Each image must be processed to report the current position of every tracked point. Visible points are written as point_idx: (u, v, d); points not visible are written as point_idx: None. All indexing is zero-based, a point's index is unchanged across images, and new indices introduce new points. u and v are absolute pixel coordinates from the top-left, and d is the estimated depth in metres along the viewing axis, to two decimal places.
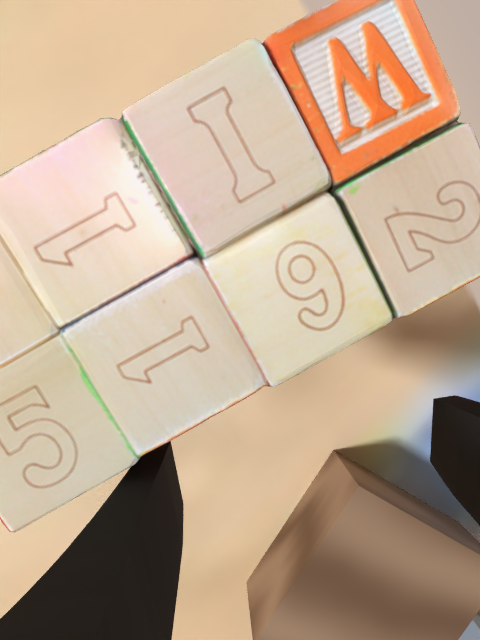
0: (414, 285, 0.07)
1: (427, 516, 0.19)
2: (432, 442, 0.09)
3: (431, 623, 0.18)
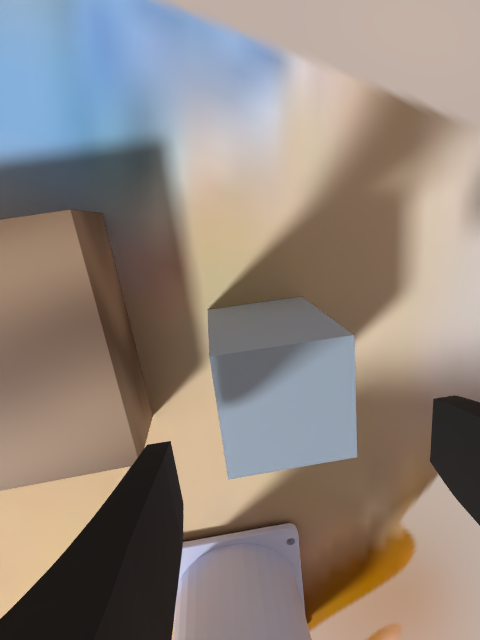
0: None
1: None
2: (432, 442, 0.09)
3: (50, 350, 0.12)
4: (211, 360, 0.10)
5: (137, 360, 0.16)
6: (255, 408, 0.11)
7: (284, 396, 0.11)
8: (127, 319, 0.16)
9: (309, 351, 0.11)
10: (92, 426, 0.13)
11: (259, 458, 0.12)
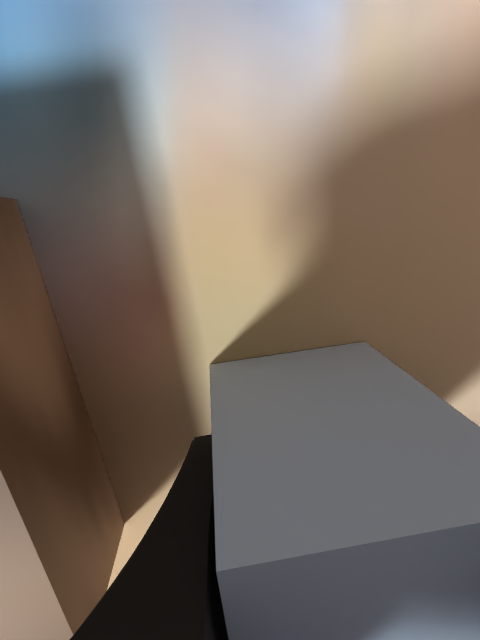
0: None
1: None
2: None
3: None
4: (221, 580, 0.04)
5: (93, 445, 0.10)
6: None
7: (395, 637, 0.05)
8: (72, 381, 0.09)
9: (469, 544, 0.04)
10: None
11: None
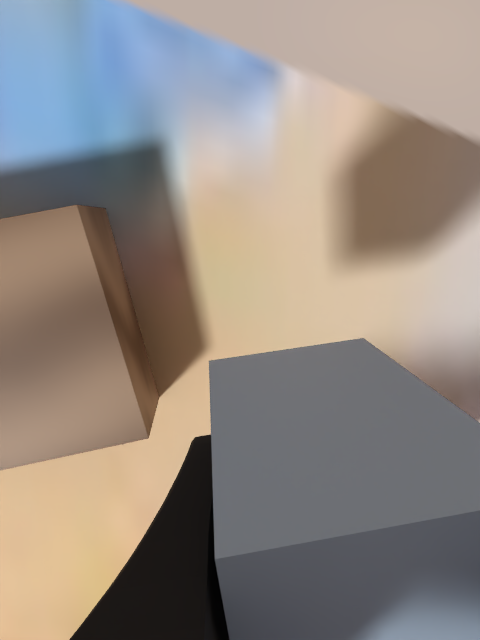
0: None
1: None
2: None
3: (64, 334, 0.13)
4: (220, 568, 0.04)
5: (143, 345, 0.17)
6: None
7: (392, 626, 0.05)
8: (132, 307, 0.17)
9: (464, 534, 0.04)
10: (104, 403, 0.14)
11: None
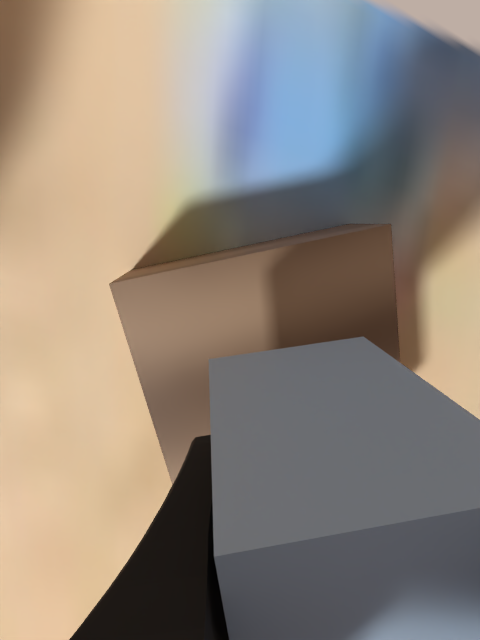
0: None
1: (260, 247, 0.13)
2: None
3: None
4: (219, 566, 0.04)
5: None
6: None
7: (392, 624, 0.05)
8: None
9: (465, 530, 0.04)
10: None
11: None
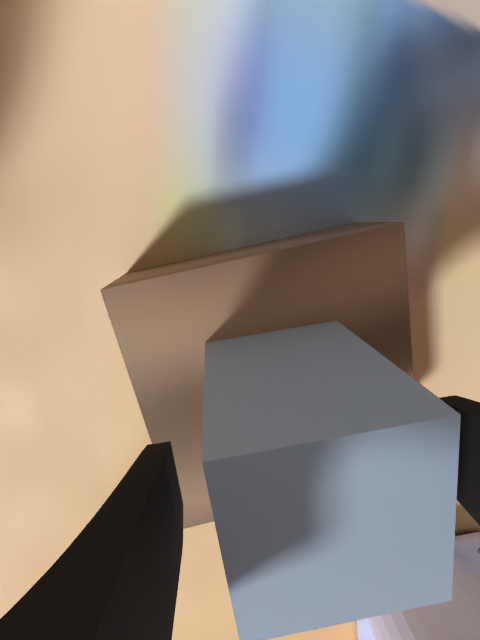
0: None
1: (263, 248, 0.12)
2: None
3: None
4: (205, 468, 0.06)
5: None
6: (285, 539, 0.06)
7: (334, 519, 0.06)
8: None
9: (380, 445, 0.06)
10: None
11: (291, 612, 0.07)
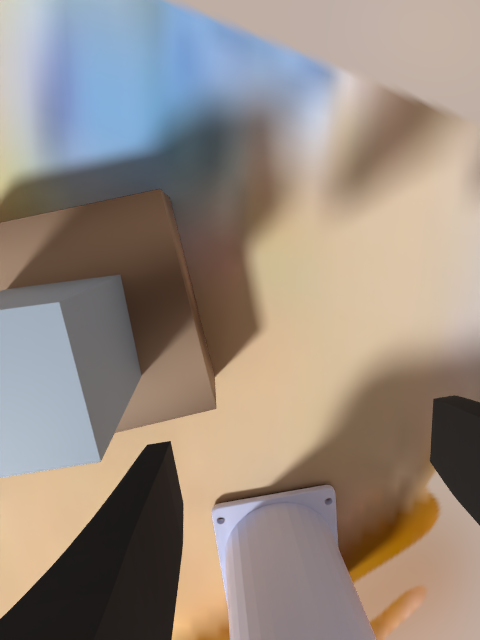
0: None
1: None
2: (432, 442, 0.09)
3: (143, 310, 0.15)
4: None
5: (201, 326, 0.18)
6: None
7: None
8: (192, 289, 0.18)
9: (1, 323, 0.08)
10: (177, 375, 0.15)
11: None
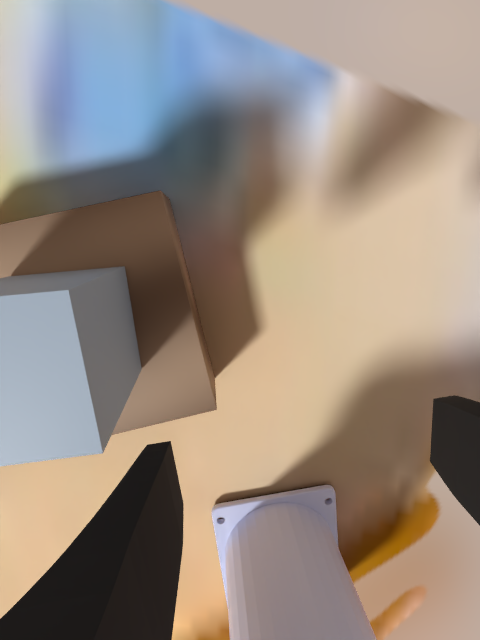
0: None
1: None
2: (432, 442, 0.09)
3: (144, 311, 0.15)
4: None
5: (201, 327, 0.19)
6: None
7: None
8: (192, 291, 0.18)
9: (8, 309, 0.08)
10: (177, 376, 0.15)
11: None
